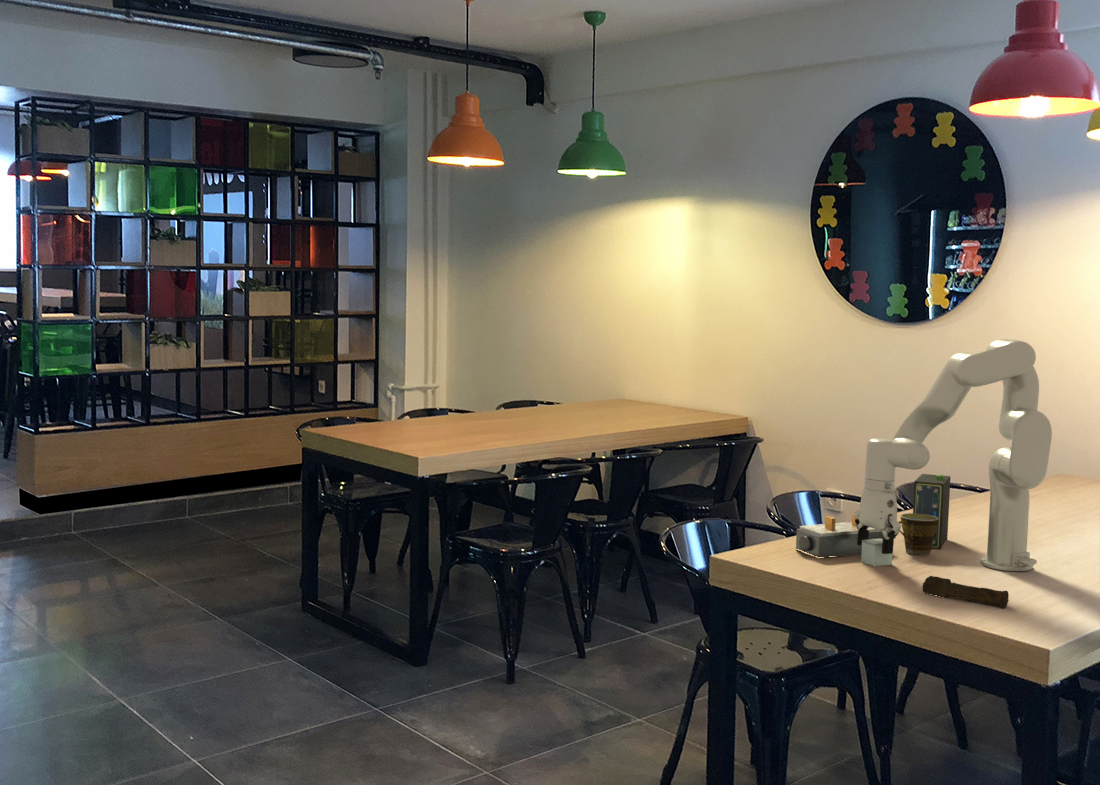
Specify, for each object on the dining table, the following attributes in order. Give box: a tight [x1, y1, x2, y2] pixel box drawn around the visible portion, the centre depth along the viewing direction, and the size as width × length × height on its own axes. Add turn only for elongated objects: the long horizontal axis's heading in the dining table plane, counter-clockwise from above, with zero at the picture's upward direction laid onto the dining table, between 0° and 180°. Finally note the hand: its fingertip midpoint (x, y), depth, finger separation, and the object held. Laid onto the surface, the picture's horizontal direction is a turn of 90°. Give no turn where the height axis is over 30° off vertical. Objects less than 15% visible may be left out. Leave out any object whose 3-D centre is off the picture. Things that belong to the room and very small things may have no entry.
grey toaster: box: [795, 513, 889, 557], centre depth 285 cm, size 10×25×10 cm, turn 112°
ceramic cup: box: [898, 512, 939, 556], centre depth 285 cm, size 13×10×10 cm
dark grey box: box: [912, 473, 951, 551], centre depth 297 cm, size 8×18×20 cm, turn 152°
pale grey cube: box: [860, 538, 893, 567], centre depth 273 cm, size 5×6×6 cm
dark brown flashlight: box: [922, 575, 1009, 609], centre depth 240 cm, size 19×4×5 cm, turn 51°
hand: (874, 549), depth 273 cm, fingers open, 9 cm apart
